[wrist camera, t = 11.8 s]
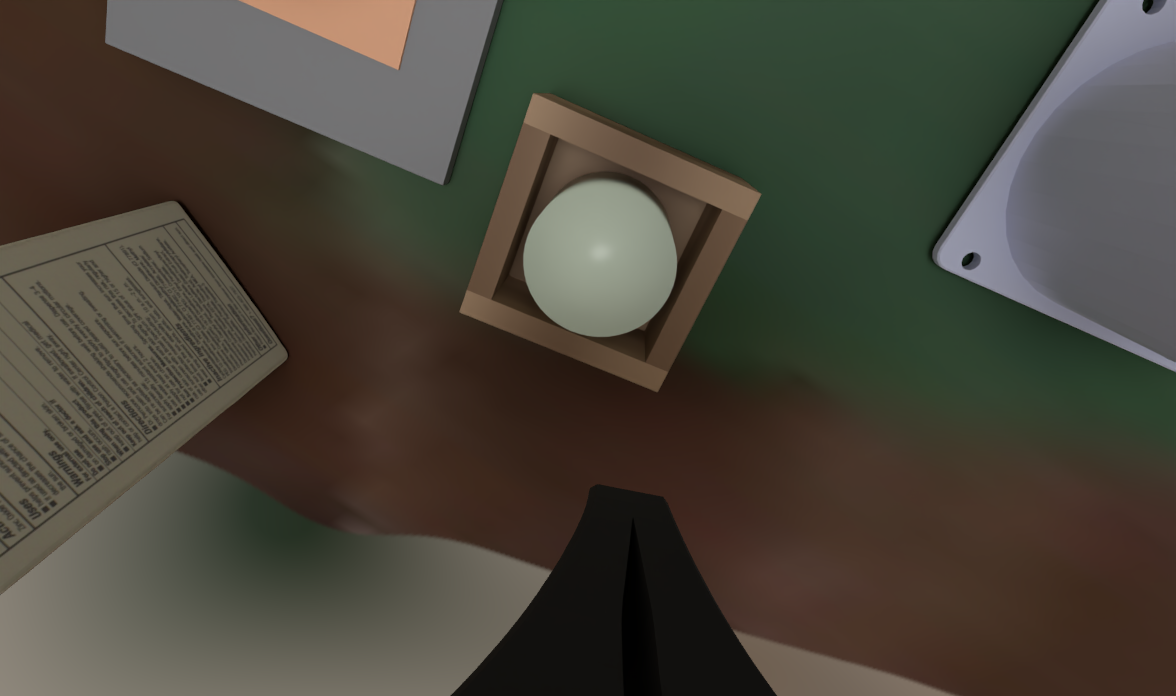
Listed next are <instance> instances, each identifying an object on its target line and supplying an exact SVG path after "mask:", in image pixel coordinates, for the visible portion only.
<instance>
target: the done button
mask: <svg viewBox="0 0 1176 696" xmlns="http://www.w3.org/2000/svg"><path fill="white" fill-rule="evenodd" d="M523 267H524V275H525V279H526V283H527V286H528V288H529V291H530V293H531V295H532V297H533V298H534V300H535V302H536V303H537V305H538V306H539V307H540V309H541V310H542V311H543V312H544V313H545V314H546V315H547V316H548V317H549V318H551V319H552V320H553V321H554V322H556V323H557V324H559V325H560V326H562V327H564V328H566V329H568V330H570V331H572V332H575V333H578V334H582V335H586V336H593V337H610V336H616V335H620V334H624V333H627V332H630V331H632V330H634V329H636V328H638V327H640V326H642V325H643V324H645V323H646V322H647V321H649V320H650V319H651V318H652V317H653V316H654V315H655V314H656V313H657V312H658V311H659V310H660V309H661V308H662V306H663V305H664V304H665V302H666V300H667V299H668V297H669V295H670V293H671V290H672V288H673V285H674V281H675V278H676V270H677V255H676V248H675V244H674V240H673V236H672V232H671V228H670V224H669V220H668V217H667V214H666V211H665V209H664V207H663V205H662V203H661V202H660V200H659V199H658V197H657V196H656V195H655V194H654V192H653V191H651V190H650V189H649V188H648V187H647V186H646V185H645V184H643V183H642V182H640V181H639V180H637V179H635V178H633V177H631V176H628V175H625V174H621V173H617V172H607V171H605V172H595V173H590V174H586V175H583V176H580V177H578V178H576V179H574V180H573V181H571V182H570V183H568V184H567V185H565V186H564V187H563V188H562V189H561V190H560V191H559V192H558V193H557V194H556V195H555V197H554V198H553V199H552V200H551V201H550V203H549V204H548V205H547V206H546V208H545V209H544V210H543V211H542V213H541V214H540V215H539V216H538V217H537V219H536V220H535V222H534V224H533V225H532V227H531V229H530V232H529V234H528V236H527V240H526V243H525V248H524V254H523Z"/></svg>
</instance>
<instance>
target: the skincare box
mask: <svg viewBox="0 0 1176 696" xmlns="http://www.w3.org/2000/svg"><path fill="white" fill-rule="evenodd" d="M287 358H288V354H287V351H286V349H285V348H284V347H283V345H282V344H281V343H280V341H279V339H278V338H277V336H276V335H275V333H274V332H273V331H272V329H271V328H270V326H269V325H268V324H267V322H266V321H265V319H264V318H263V316H262V315H261V314H260V312H259V311H258V309H257V308H256V307H255V305H254V304H253V303H252V301H251V300H250V298H249V297H248V296H247V294H246V293H245V292H244V290H243V289H242V287H241V286H240V285H239V283H238V282H237V281H236V279H235V278H234V276H233V275H232V274H231V272H230V271H229V270H228V268H227V267H226V265H225V264H224V263H223V262H222V260H221V259H220V258H219V256H218V255H217V253H216V252H215V251H214V250H213V248H212V247H211V246H210V244H209V243H208V242H207V240H206V239H205V237H204V236H203V235H202V234H201V232H200V231H199V230H198V229H197V227H196V226H195V224H194V223H193V222H192V220H191V219H190V218H189V217H188V215H187V214H186V213H185V211H184V210H183V209H182V207H181V206H180V205H179V204H178V203H177V202H175V201H169V202H165V203H161V204H157V205H154V206H150V207H146V208H142V209H138V210H135V211H131V212H127V213H124V214H120V215H116V216H112V217H108V218H105V219H101V220H97V221H93V222H89V223H85V224H82V225H78V226H74V227H70V228H66V229H63V230H59V231H55V232H52V233H48V234H45V235H40V236H36V237H32V238H28V239H25V240H21V241H17V242H13V243H10V244H6V245H2V246H0V595H1V594H2V593H3V592H5V591H6V590H7V589H8V588H9V587H11V586H12V585H13V584H14V583H16V582H17V581H18V580H19V579H20V578H22V577H23V576H24V575H25V574H27V573H28V572H29V571H30V570H32V569H33V568H34V567H35V566H36V565H38V564H39V563H40V562H41V561H43V560H44V559H45V558H46V557H47V556H48V555H50V554H51V553H52V552H53V551H55V550H56V549H57V548H58V547H59V546H61V545H62V544H63V543H64V542H66V541H67V540H68V539H69V538H70V537H72V536H73V535H74V534H75V533H76V532H78V531H79V530H80V529H81V528H82V527H84V526H85V525H86V524H87V523H89V522H90V521H91V520H92V519H93V518H95V517H96V516H97V515H98V514H99V513H101V512H102V511H103V510H104V509H105V508H107V507H108V506H109V505H110V504H112V503H113V502H114V501H115V500H116V499H118V498H119V497H120V496H121V495H123V494H124V493H125V492H126V491H127V490H129V489H130V488H131V487H132V486H134V485H135V484H136V483H137V482H138V481H140V480H141V479H142V478H143V477H145V476H146V475H147V474H148V473H149V472H151V471H152V470H153V469H154V468H155V467H157V466H158V465H159V464H161V463H162V462H163V461H164V460H165V459H167V458H168V457H169V456H170V455H171V454H173V453H174V452H175V451H176V450H177V449H179V448H180V447H181V446H182V445H183V444H185V443H186V442H187V441H188V440H190V439H191V438H192V437H193V436H194V435H196V434H197V433H198V432H199V431H200V430H202V429H203V428H204V427H205V426H206V425H208V424H209V423H210V422H211V421H213V420H214V419H215V418H216V417H218V416H219V415H220V414H221V413H222V412H224V411H225V410H226V409H228V408H229V407H230V406H231V405H233V404H234V403H235V402H236V401H238V400H239V399H240V398H241V397H242V396H243V395H245V394H246V393H247V392H248V391H249V390H250V389H252V388H253V387H254V386H255V385H256V384H257V383H259V382H260V381H261V380H262V379H264V378H265V377H266V376H267V375H269V374H270V373H271V372H272V371H273V370H275V369H276V368H277V367H278V366H280V365H281V364H282V363H283V362H284V361H286V359H287Z"/></svg>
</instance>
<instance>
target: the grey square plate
mask: <svg viewBox="0 0 1176 696" xmlns="http://www.w3.org/2000/svg"><path fill="white" fill-rule="evenodd" d="M502 3H503V0H108V2H107V22H106V41H105V43H107V44H109V45H112V46H114V47H116V48H119V49H121V50H123V51H126V52H128V53H130V54H133V55H135V56H138V57H140V58H142V59H145V60H147V61H149V62H152V63H154V64H156V65H159V66H161V67H164V68H166V69H168V70H171V71H173V72H175V73H178V74H180V75H183V76H185V77H187V78H190V79H192V80H194V81H197V82H199V83H201V84H204V85H206V86H209V87H211V88H213V89H216V90H218V91H220V92H223V93H225V94H228V95H230V96H232V97H235V98H237V99H239V100H242V101H244V102H246V103H249V104H251V105H254V106H256V107H258V108H261V109H263V110H265V111H268V112H270V113H272V114H275V115H277V116H280V117H282V118H284V119H287V120H289V121H291V122H294V123H296V124H299V125H301V126H303V127H306V128H308V129H310V130H313V131H315V132H317V133H320V134H322V135H325V136H327V137H329V138H332V139H334V140H336V141H339V142H341V143H344V144H346V145H348V146H351V147H353V148H355V149H358V150H360V151H362V152H365V153H367V154H370V155H372V156H374V157H377V158H379V159H381V160H384V161H386V162H388V163H391V164H393V165H396V166H398V167H400V168H403V169H405V170H407V171H410V172H412V173H415V174H417V175H419V176H422V177H424V178H426V179H429V180H431V181H433V182H436V183H438V184H441V185H445V184H447V183H449V180H450V177H451V174H452V170H453V167H454V164H455V160H456V157H457V154H458V150H459V147H460V143H461V140H462V137H463V133H464V130H465V127H466V123H467V120H468V117H469V113H470V110H471V107H472V103H473V100H474V97H475V93H476V90H477V87H478V83H479V80H480V77H481V73H482V70H483V67H484V63H485V60H486V57H487V53H488V50H489V46H490V43H491V40H492V36H493V33H494V30H495V26H496V23H497V20H498V16H499V13H500V10H501V6H502Z"/></svg>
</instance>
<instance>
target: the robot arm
mask: <svg viewBox="0 0 1176 696" xmlns="http://www.w3.org/2000/svg"><path fill="white" fill-rule="evenodd" d="M1143 1H1144V0H1100V1H1099V2H1098V4H1097V5H1096V7H1095V8H1094V10H1093V11H1092V13H1091V14H1090V16H1089V17H1088V19H1087V20H1086V22H1085V23H1084V25H1083V26H1082V27H1081V29H1080V30H1079V32H1078V33H1077V35H1076V36H1075V38H1074V39H1073V41H1072V42H1071V44H1070V45H1069V47H1068V48H1067V50H1066V51H1065V53H1064V54H1063V56H1062V57H1061V59H1060V60H1059V62H1058V63H1057V65H1056V66H1055V68H1054V69H1053V71H1052V72H1051V74H1050V75H1049V77H1048V78H1047V80H1046V81H1045V83H1044V84H1043V86H1042V87H1041V89H1040V90H1039V92H1038V93H1037V94H1036V96H1035V97H1034V99H1033V100H1032V102H1031V103H1030V105H1029V106H1028V108H1027V109H1026V111H1025V112H1024V114H1023V115H1022V117H1021V118H1020V120H1019V121H1018V123H1017V124H1016V126H1015V127H1014V129H1013V130H1012V132H1011V133H1010V135H1009V136H1008V138H1007V139H1006V141H1005V142H1004V144H1003V145H1002V147H1001V148H1000V150H999V151H998V153H997V154H996V156H995V157H994V158H993V160H992V161H991V163H990V164H989V166H988V167H987V169H986V170H985V172H984V173H983V175H982V176H981V178H980V179H979V181H978V182H977V184H976V185H975V187H974V188H973V190H972V191H971V193H970V194H969V196H968V197H967V199H966V200H965V202H964V203H963V205H962V206H961V208H960V209H959V211H958V212H957V214H956V215H955V217H954V218H953V220H952V221H951V223H950V224H949V225H948V227H947V228H946V230H945V231H944V233H943V234H942V236H941V237H940V239H939V240H938V242H937V243H936V245H935V247H934V249H933V257H932V258H933V260H934V262H935V263H936V264H937V265H938V266H940V267H941V268H943V269H945V270H947V271H949V272H951V273H954V274H956V275H958V276H961V277H963V278H965V279H967V280H970V281H972V282H974V283H976V284H979V285H981V286H983V287H985V288H988V289H990V290H992V291H994V292H997V293H999V294H1001V295H1003V296H1006V297H1008V298H1010V299H1012V300H1015V301H1017V302H1019V303H1021V304H1024V305H1026V306H1028V307H1030V308H1033V309H1035V310H1037V311H1039V312H1042V313H1044V314H1046V315H1048V316H1051V317H1053V318H1055V319H1057V320H1060V321H1062V322H1064V323H1066V324H1069V325H1071V326H1073V327H1075V328H1078V329H1080V330H1082V331H1084V332H1087V333H1089V334H1091V335H1094V336H1096V337H1098V338H1100V339H1103V340H1105V341H1107V342H1109V343H1112V344H1114V345H1116V346H1118V347H1121V348H1123V349H1125V350H1127V351H1130V352H1132V353H1134V354H1136V355H1139V356H1141V357H1143V358H1145V359H1148V360H1150V361H1152V362H1154V363H1157V364H1159V365H1161V366H1163V367H1166V368H1168V369H1170V370H1172V371H1175V372H1176V0H1153V5H1152V7H1151V9H1150V10H1149V11H1148V12H1147V13H1145V12H1144V11H1143V10H1142V3H1143ZM971 252H973V254H974V258H973V260H972V262H971V263H970V264H969V265H966V266H962V263H961V262H962V259H963V257H964V256H965V255H967V254H968V253H971ZM451 696H777V695H776V694H775V692H774V691H773V690H772V688H771V687H770V685H769V684H768V683H767V681H766V680H765V679H764V677H763V676H762V674H761V673H760V671H759V670H758V669H757V667H756V666H755V664H754V663H753V661H752V660H751V658H750V657H749V655H748V654H747V652H746V651H745V649H744V648H743V646H742V645H741V643H740V642H739V640H738V638H737V637H736V635H735V633H734V632H733V630H732V629H731V627H730V625H729V624H728V622H727V620H726V619H725V617H724V615H723V614H722V612H721V610H720V609H719V607H718V605H717V603H716V602H715V600H714V598H713V596H712V595H711V593H710V591H709V589H708V587H707V585H706V583H705V582H704V580H703V578H702V576H701V574H700V572H699V570H698V568H697V567H696V565H695V563H694V561H693V559H692V557H691V555H690V553H689V551H688V548H687V546H686V544H685V542H684V540H683V538H682V536H681V534H680V531H679V529H678V527H677V525H676V522H675V520H674V518H673V515H672V513H671V511H670V508H669V506H668V503H667V502H666V500H665V499H664V497H661V496H656V495H650V494H645V493H640V492H635V491H630V490H624V489H619V488H614V487H609V486H604V485H598V484H597V485H595V486H593V487H591V488H590V491H589V495H588V500H587V505H586V508H585V510H584V513H583V515H582V518H581V520H580V522H579V524H578V526H577V529H576V531H575V533H574V535H573V536H572V538H571V540H570V542H569V544H568V545H567V547H566V549H565V551H564V553H563V554H562V556H561V558H560V560H559V561H558V563H557V565H556V566H555V568H554V569H553V571H552V572H551V574H550V575H549V577H548V579H547V580H546V581H545V583H544V584H543V586H542V587H541V589H540V591H539V592H538V593H537V595H536V596H535V598H534V599H533V600H532V602H531V603H530V604H529V606H528V607H527V609H526V610H525V611H524V613H523V614H522V615H521V617H520V618H519V619H518V621H517V622H516V623H515V624H514V625H513V627H512V628H511V629H510V630H509V632H508V633H507V634H506V635H505V637H504V638H503V639H502V640H501V641H500V643H499V644H498V645H497V646H496V647H495V648H494V649H493V650H492V652H491V653H490V654H489V655H488V656H487V657H486V658H485V660H484V661H483V662H482V663H481V664H480V665H479V666H478V668H477V669H476V670H475V671H474V672H473V673H472V674H471V675H470V676H469V677H468V678H467V679H466V681H464V682H463V684H462V685H461V686H460V687H459V688H458V689H457V690H456V691H455V692H454V693H453V694H452V695H451Z"/></svg>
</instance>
